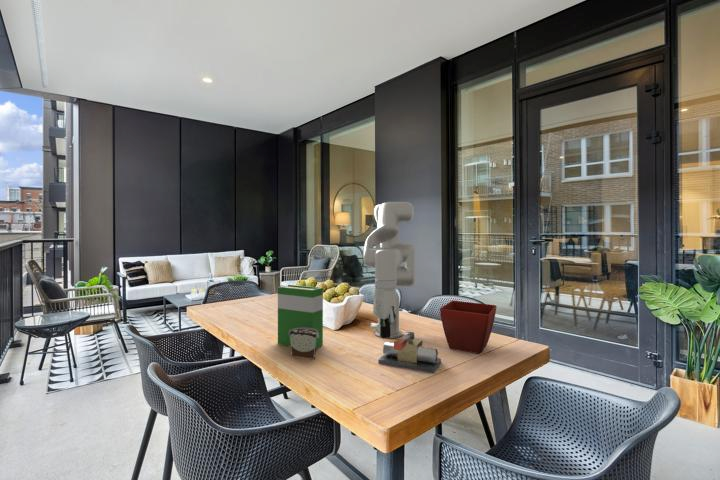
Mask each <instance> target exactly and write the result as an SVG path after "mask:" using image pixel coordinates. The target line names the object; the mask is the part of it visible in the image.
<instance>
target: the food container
mask: <svg viewBox="0 0 720 480" xmlns="http://www.w3.org/2000/svg"><path fill="white" fill-rule="evenodd" d="M288 335H290V344H291V346H290V352H291V354H290V355H291V357H293V358H299V357H300V358H302V359H308V360H315V359H316V356H317V355H316V354H317V348H316V346H317V339H318V338H319V333H318V330H316V329H314V328H307V327H302V328H294V329H291V330H289V333H288Z"/></svg>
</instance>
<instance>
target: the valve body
mask: <svg viewBox="0 0 720 480" xmlns="http://www.w3.org/2000/svg"><path fill="white" fill-rule="evenodd" d="M394 342H395V341H394ZM394 342H393V341H385V342H384V343H383V346H382V353H383V355H382V356H381V357H379V358H378V364H379V365H384V366H389V367H390V366H391V367H396V368H400V369H401V368H402V369H408V370H412V371H419V372H423V373H429V374H435V372H436V371H437V369H438V368H439V367H440V365H441V364H442V358H439V357H438V355H439V353H438V352H439V351H438V348H433V347H428V346H427V347H425V346H423V339H418V338H414V339H413V340H410V341H409V342H408V343H407V344H406V346H405V347H404V348H403V349H402V350H396V349H394Z"/></svg>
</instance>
